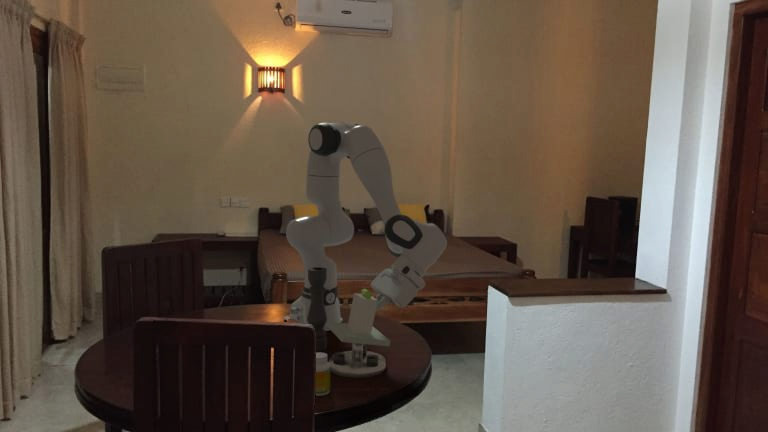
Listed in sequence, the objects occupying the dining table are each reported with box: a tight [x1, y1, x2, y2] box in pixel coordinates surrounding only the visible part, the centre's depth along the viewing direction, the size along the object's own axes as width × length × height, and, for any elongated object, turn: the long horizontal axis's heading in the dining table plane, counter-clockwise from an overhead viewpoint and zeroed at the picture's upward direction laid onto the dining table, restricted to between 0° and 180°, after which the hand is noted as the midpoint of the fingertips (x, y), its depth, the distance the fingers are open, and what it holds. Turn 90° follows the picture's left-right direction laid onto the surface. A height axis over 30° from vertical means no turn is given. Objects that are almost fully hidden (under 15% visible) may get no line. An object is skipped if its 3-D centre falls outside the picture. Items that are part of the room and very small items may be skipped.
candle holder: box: [307, 267, 328, 353], centre depth 173 cm, size 6×6×25 cm
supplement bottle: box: [315, 351, 331, 397], centre depth 142 cm, size 5×5×10 cm
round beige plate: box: [328, 343, 387, 379], centre depth 159 cm, size 16×16×8 cm
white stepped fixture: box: [328, 288, 391, 347], centre depth 159 cm, size 14×14×13 cm
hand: (374, 308), depth 160 cm, fingers closed, pressing on white stepped fixture
